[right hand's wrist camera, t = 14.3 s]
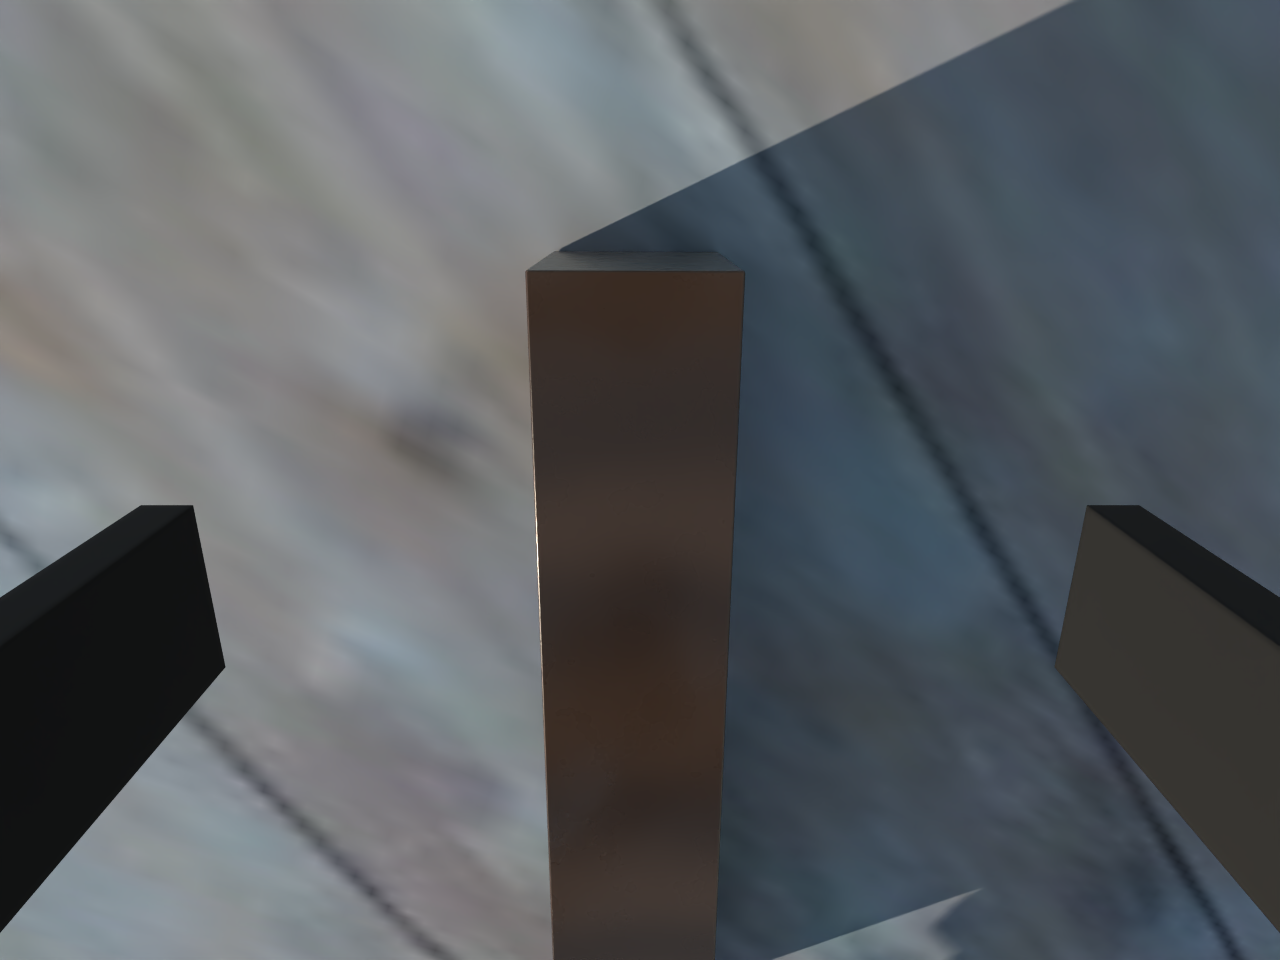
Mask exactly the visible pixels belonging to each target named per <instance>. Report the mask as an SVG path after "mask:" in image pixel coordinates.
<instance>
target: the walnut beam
mask: <svg viewBox="0 0 1280 960" xmlns="http://www.w3.org/2000/svg"><path fill="white" fill-rule="evenodd" d="M525 274H526V299H527V324H528V349H529V374H530V399H531V424H532V449H533V473H534V498H535V523H536V548H537V573H538V598H539V623H540V648H541V672H542V697H543V722H544V747H545V772H546V797H547V822H548V847H549V872H550V896H551V921H552V946H553V960H715V942H716V919H717V897H718V874H719V852H720V829H721V806H722V784H723V761H724V739H725V716H726V693H727V671H728V648H729V626H730V603H731V581H732V558H733V535H734V513H735V490H736V468H737V445H738V422H739V400H740V377H741V355H742V332H743V310H744V287H745V272H744V271H743V270H742V269H740V268H739V267H737V266H736V265H734V264H733V263H732V262H730V261H729V260H727V259H726V258H725V257H723V256H722V255H720V254H719V253H717V252H571V251H555V252H553V253H551V254H550V255H548V256H547V257H545V258H544V259H542V260H541V261H540V262H538V263H537V264H535V265H534V266H532V267H531V268H529V269H528V270H526V272H525Z"/></svg>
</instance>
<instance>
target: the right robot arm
mask: <svg viewBox="0 0 1280 960" xmlns="http://www.w3.org/2000/svg"><path fill="white" fill-rule="evenodd" d="M224 668H225V663H224V658H223V653H222V648H221V643H220V638H219V633H218V628H217V623H216V618H215V613H214V608H213V603H212V598H211V593H210V588H209V583H208V578H207V573H206V568H205V563H204V558H203V553H202V548H201V543H200V538H199V533H198V528H197V523H196V518H195V513H194V508H193V505H141V506H139V507H138V508H136V509H135V510H133V511H131V512H130V513H128V514H127V515H125V516H124V517H122V518H121V519H119V520H118V521H116V522H115V523H113V524H112V525H110V526H109V527H107V528H106V529H104V530H103V531H101V532H99V533H98V534H96V535H95V536H93V537H92V538H90V539H89V540H87V541H86V542H84V543H83V544H81V545H80V546H78V547H77V548H75V549H74V550H72V551H70V552H69V553H67V554H66V555H64V556H63V557H61V558H60V559H58V560H57V561H55V562H54V563H52V564H51V565H49V566H48V567H46V568H45V569H43V570H42V571H40V572H38V573H37V574H35V575H34V576H32V577H31V578H29V579H28V580H26V581H25V582H23V583H22V584H20V585H19V586H17V587H16V588H14V589H13V590H11V591H9V592H8V593H6V594H5V595H3V596H2V597H0V932H1V931H2V930H3V929H4V928H5V926H6V925H7V924H8V923H9V922H10V921H11V919H12V918H13V917H14V916H15V915H16V914H17V912H18V911H19V910H20V909H21V908H22V906H23V905H24V904H25V903H26V902H27V901H28V899H29V898H30V897H31V896H32V895H33V893H34V892H35V891H36V890H37V889H38V888H39V886H40V885H41V884H42V883H43V882H44V880H45V879H46V878H47V877H48V876H49V875H50V873H51V872H52V871H53V870H54V869H55V868H56V866H57V865H58V864H59V863H60V862H61V860H62V859H63V858H64V857H65V856H66V855H67V853H68V852H69V851H70V850H71V849H72V847H73V846H74V845H75V844H76V843H77V842H78V840H79V839H80V838H81V837H82V836H83V834H84V833H85V832H86V831H87V830H88V829H89V827H90V826H91V825H92V824H93V823H94V822H95V820H96V819H97V818H98V817H99V816H100V814H101V813H102V812H103V811H104V810H105V809H106V807H107V806H108V805H109V804H110V803H111V801H112V800H113V799H114V798H115V797H116V796H117V794H118V793H119V792H120V791H121V790H122V788H123V787H124V786H125V785H126V784H127V783H128V781H129V780H130V779H131V778H132V777H133V776H134V774H135V773H136V772H137V771H138V770H139V768H140V767H141V766H142V765H143V764H144V763H145V761H146V760H147V759H148V758H149V757H150V755H151V754H152V753H153V752H154V751H155V750H156V748H157V747H158V746H159V745H160V744H161V742H162V741H163V740H164V739H165V738H166V737H167V735H168V734H169V733H170V732H171V731H172V729H173V728H174V727H175V726H176V725H177V724H178V722H179V721H180V720H181V719H182V718H183V717H184V715H185V714H186V713H187V712H188V711H189V709H190V708H191V707H192V706H193V705H194V704H195V702H196V701H197V700H198V699H199V698H200V696H201V695H202V694H203V693H204V692H205V691H206V689H207V688H208V687H209V686H210V685H211V683H212V682H213V681H214V680H215V679H216V678H217V676H218V675H219V674H220V673H221V672H222V671H223V669H224ZM1055 668H1056V669H1057V671H1058V672H1059V673H1060V674H1061V675H1062V676H1063V678H1064V679H1065V680H1066V681H1067V682H1068V683H1069V685H1070V686H1071V687H1072V688H1073V689H1074V691H1075V692H1076V693H1077V694H1078V695H1079V696H1080V698H1081V699H1082V700H1083V701H1084V702H1085V704H1086V705H1087V706H1088V707H1089V708H1090V709H1091V711H1092V712H1093V713H1094V714H1095V715H1096V717H1097V718H1098V719H1099V720H1100V721H1101V722H1102V724H1103V725H1104V726H1105V727H1106V728H1107V729H1108V731H1109V732H1110V733H1111V734H1112V735H1113V737H1114V738H1115V739H1116V740H1117V741H1118V742H1119V744H1120V745H1121V746H1122V747H1123V748H1124V750H1125V751H1126V752H1127V753H1128V754H1129V755H1130V757H1131V758H1132V759H1133V760H1134V761H1135V763H1136V764H1137V765H1138V766H1139V767H1140V768H1141V770H1142V771H1143V772H1144V773H1145V774H1146V776H1147V777H1148V778H1149V779H1150V780H1151V781H1152V783H1153V784H1154V785H1155V786H1156V787H1157V788H1158V790H1159V791H1160V792H1161V793H1162V794H1163V796H1164V797H1165V798H1166V799H1167V800H1168V801H1169V803H1170V804H1171V805H1172V806H1173V807H1174V809H1175V810H1176V811H1177V812H1178V813H1179V814H1180V816H1181V817H1182V818H1183V819H1184V820H1185V822H1186V823H1187V824H1188V825H1189V826H1190V827H1191V829H1192V830H1193V831H1194V832H1195V833H1196V834H1197V836H1198V837H1199V838H1200V839H1201V840H1202V842H1203V843H1204V844H1205V845H1206V846H1207V847H1208V849H1209V850H1210V851H1211V852H1212V853H1213V855H1214V856H1215V857H1216V858H1217V859H1218V860H1219V862H1220V863H1221V864H1222V865H1223V866H1224V868H1225V869H1226V870H1227V871H1228V872H1229V873H1230V875H1231V876H1232V877H1233V878H1234V879H1235V880H1236V882H1237V883H1238V884H1239V885H1240V886H1241V888H1242V889H1243V890H1244V891H1245V892H1246V893H1247V895H1248V896H1249V897H1250V898H1251V899H1252V901H1253V902H1254V903H1255V904H1256V905H1257V906H1258V908H1259V909H1260V910H1261V911H1262V912H1263V914H1264V915H1265V916H1266V917H1267V918H1268V919H1269V921H1270V922H1271V923H1272V924H1273V925H1274V926H1275V928H1276V929H1277V930H1278V931H1279V932H1280V597H1278V596H1277V595H1275V594H1274V593H1272V592H1271V591H1269V590H1267V589H1266V588H1264V587H1263V586H1261V585H1260V584H1258V583H1257V582H1255V581H1254V580H1252V579H1251V578H1249V577H1248V576H1246V575H1245V574H1243V573H1242V572H1240V571H1238V570H1237V569H1235V568H1234V567H1232V566H1231V565H1229V564H1228V563H1226V562H1225V561H1223V560H1222V559H1220V558H1219V557H1217V556H1216V555H1214V554H1213V553H1211V552H1210V551H1208V550H1206V549H1205V548H1203V547H1202V546H1200V545H1199V544H1197V543H1196V542H1194V541H1193V540H1191V539H1190V538H1188V537H1187V536H1185V535H1184V534H1182V533H1181V532H1179V531H1177V530H1176V529H1174V528H1173V527H1171V526H1170V525H1168V524H1167V523H1165V522H1164V521H1162V520H1161V519H1159V518H1158V517H1156V516H1155V515H1153V514H1152V513H1150V512H1149V511H1147V510H1145V509H1144V508H1142V507H1141V506H1139V505H1087V508H1086V513H1085V518H1084V523H1083V528H1082V533H1081V538H1080V543H1079V548H1078V553H1077V558H1076V563H1075V568H1074V573H1073V578H1072V583H1071V588H1070V593H1069V598H1068V603H1067V608H1066V613H1065V618H1064V623H1063V628H1062V633H1061V638H1060V643H1059V648H1058V653H1057V658H1056V663H1055Z"/></svg>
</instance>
